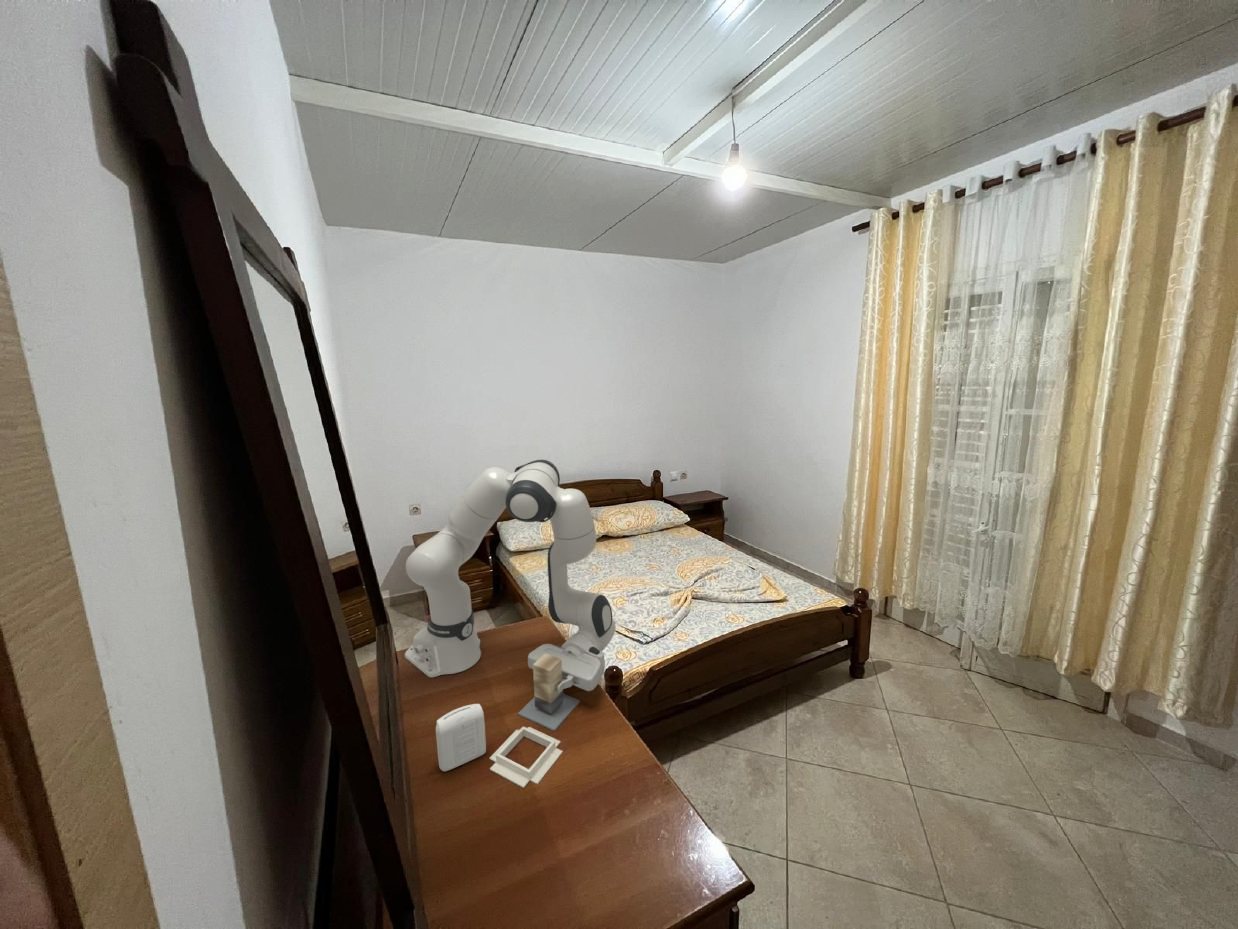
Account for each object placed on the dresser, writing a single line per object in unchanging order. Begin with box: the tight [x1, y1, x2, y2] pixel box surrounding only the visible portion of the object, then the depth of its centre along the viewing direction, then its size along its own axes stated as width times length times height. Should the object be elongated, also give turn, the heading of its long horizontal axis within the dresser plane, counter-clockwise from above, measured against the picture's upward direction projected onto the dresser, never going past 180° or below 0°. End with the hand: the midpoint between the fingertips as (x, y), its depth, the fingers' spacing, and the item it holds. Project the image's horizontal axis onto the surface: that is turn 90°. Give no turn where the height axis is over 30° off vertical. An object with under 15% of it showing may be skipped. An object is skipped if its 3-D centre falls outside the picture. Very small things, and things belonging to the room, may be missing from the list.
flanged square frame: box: [489, 726, 564, 789], centre depth 105 cm, size 13×13×2 cm
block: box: [532, 653, 564, 713], centre depth 117 cm, size 5×5×12 cm
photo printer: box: [435, 703, 487, 772], centre depth 103 cm, size 10×4×12 cm, turn 123°
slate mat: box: [517, 693, 581, 732], centre depth 119 cm, size 11×11×1 cm
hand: (546, 685), depth 116 cm, fingers closed on block, 5 cm apart
